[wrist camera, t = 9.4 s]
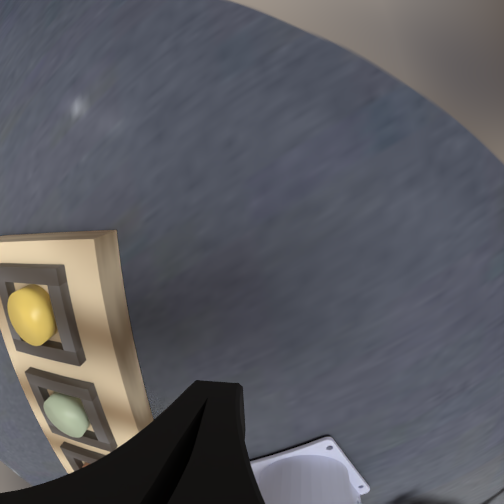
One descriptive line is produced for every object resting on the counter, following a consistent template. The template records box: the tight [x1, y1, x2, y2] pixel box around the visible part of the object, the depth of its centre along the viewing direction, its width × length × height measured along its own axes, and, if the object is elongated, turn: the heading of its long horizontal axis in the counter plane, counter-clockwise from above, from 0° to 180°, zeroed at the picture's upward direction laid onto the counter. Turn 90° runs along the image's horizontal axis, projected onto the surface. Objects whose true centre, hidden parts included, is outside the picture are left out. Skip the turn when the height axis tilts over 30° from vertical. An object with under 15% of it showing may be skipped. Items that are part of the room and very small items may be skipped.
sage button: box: [44, 391, 91, 438], centre depth 18 cm, size 4×4×1 cm
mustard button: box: [7, 284, 58, 346], centre depth 16 cm, size 4×4×1 cm
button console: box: [0, 230, 153, 474], centre depth 20 cm, size 25×11×3 cm, turn 2°
